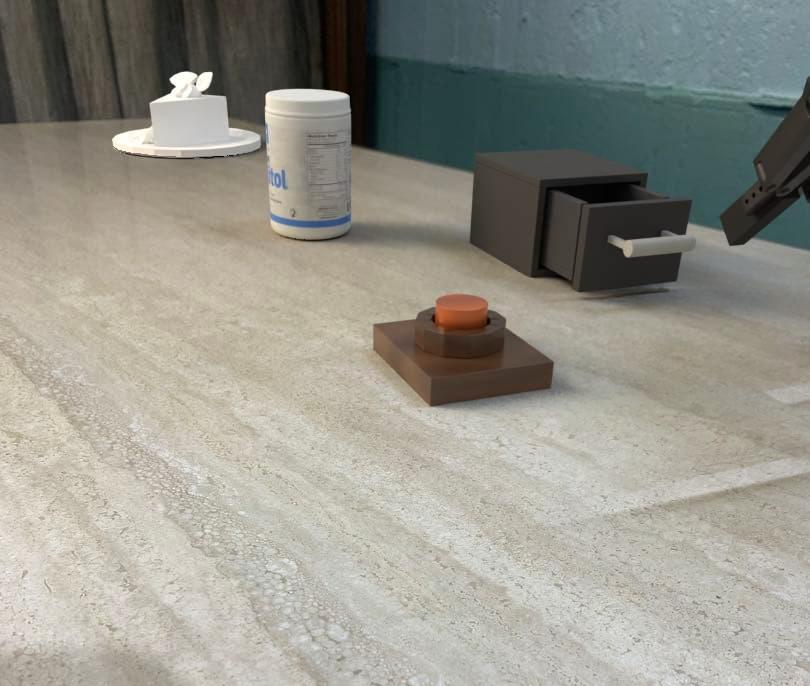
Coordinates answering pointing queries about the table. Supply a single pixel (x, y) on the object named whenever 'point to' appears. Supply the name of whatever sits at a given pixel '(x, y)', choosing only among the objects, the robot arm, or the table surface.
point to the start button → (461, 312)
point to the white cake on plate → (189, 124)
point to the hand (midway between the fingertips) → (731, 230)
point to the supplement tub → (309, 162)
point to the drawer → (614, 235)
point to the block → (461, 359)
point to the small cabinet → (530, 198)
